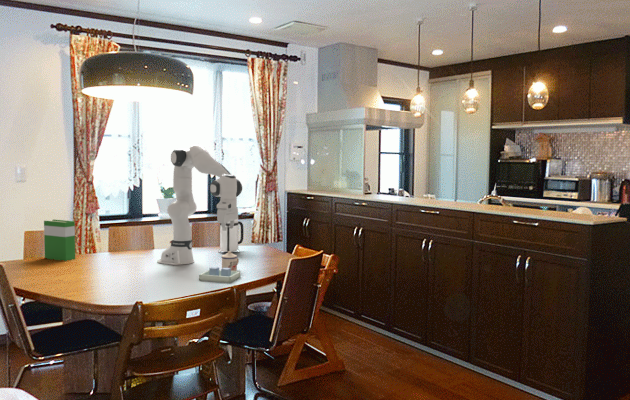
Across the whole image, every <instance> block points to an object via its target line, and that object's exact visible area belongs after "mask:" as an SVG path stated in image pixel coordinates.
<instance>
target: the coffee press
mask: <svg viewBox="0 0 630 400" xmlns="http://www.w3.org/2000/svg"><path fill="white" fill-rule="evenodd" d="M239 218H240V217H239V216H238V219H236V220H235V222H234V225H233V228H229V225H230V221H229V222H226V224H225V225H226V230H225V231H223V230H222V225H221V223H219V250H220V251H219V250H218V251H217V252H218V254H219V253H221V252H223V253H224V252H226V253H228V251H231V253H233V252H237V253H238V254H240V253H241V251H240V248H239V245H240V244H242V243H243V240H244V224H243V222H242V221H239ZM239 226H240V240H239Z"/></svg>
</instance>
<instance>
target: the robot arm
mask: <svg viewBox="0 0 630 400" xmlns="http://www.w3.org/2000/svg"><path fill="white" fill-rule="evenodd" d="M170 162H171V163H172V165H173V166H174V168H173V179H172V181H173V183H172V187H173V189H172V190H173V192H174V193H175V197H176V200H175V201H173V202H172V203H170V204H169V205H168V206H167V209H166V210H167V214H168V216H169V218H170V220H171V223H172V236H173V237H172V238H173V239H172V240H170V241H169V244H170V246H168V247H167V248H166V249H165V250H163V251H162V252H161V255H160V259H158V260H157V263H158V264H163V265H164V264H165V265H171V266H173V265H174V266H179V265H188V264H189V265H190V264H193V263H195V259H194V255H193V250H192V249H193V239H192V235H193V234H192V226H191V224H190V220H189V217H191V216H192V215H194V214H195V213H196V212H197V203H196V202H195V200H194V196H193V185H192V184H193V181H192V180H193V171H192V170H193V169H194V168H195V169H196V170H197V171H198V172H199V173H201V174H206V175H212V176H216V177H219V178H217V179H214V180H212V181H211V183H210V184H209V192H210V194H211V195H212V196H213V197H217V198H219V199H220V200H219V202H218V203H217V204H216V209H217V211H216V217H217V219H216V220H217V223H218V224H220V223H221V225H222V230H223V231H225V230H226V225H225V224H226V222H229V221H230V225H229V228H233V225H234V222H235V220H236V219H238V220H239V218H238V217H239V208H238V206H237V205H238V204H237V202H238V201H237V198H238V197H239V196H240V194H241V193H242V191H243V185H242V183H241V181H240V180H239V179H238V178H237V176H235V175H234V174H232V173H231V172H230V171H229V170H228V169H227V168H226V167H225V166H224V165H223V164H222V163H220V162H219V161H217V160H216V159H215V158H213V156H212V155H211V154H210V153H209V152H208V151H207V149H206V148H205V147H203V146H202V145H201V144H199V143H198V144H193V145H191V146H190V147H189V148H177V149H174V150H173V151H172V152H171V154H170Z"/></svg>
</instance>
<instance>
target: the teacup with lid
mask: <svg viewBox="0 0 630 400" xmlns="http://www.w3.org/2000/svg"><path fill="white" fill-rule="evenodd" d="M239 263H240V262H239V258H238V255H237V254H234V253H233V252H231V251H228V253H227V252H226V253H225V254H222V255H221V269H222V268H231V271H237V272H238V269H237V268H238V264H239Z"/></svg>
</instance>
